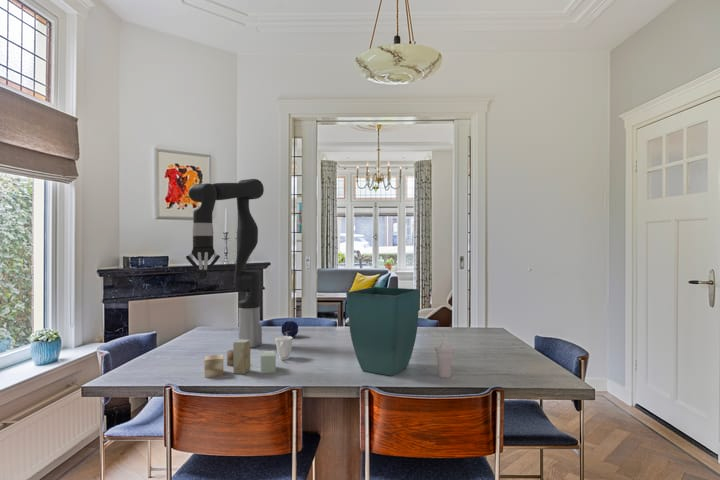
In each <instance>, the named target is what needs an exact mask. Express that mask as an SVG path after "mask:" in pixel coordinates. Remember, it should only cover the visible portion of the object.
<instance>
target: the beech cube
mask: <svg viewBox="0 0 720 480" xmlns="http://www.w3.org/2000/svg"><path fill="white" fill-rule="evenodd" d="M223 376H224V354H211V355H205V356H204V378H213V377H215V378H216V377H223Z"/></svg>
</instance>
